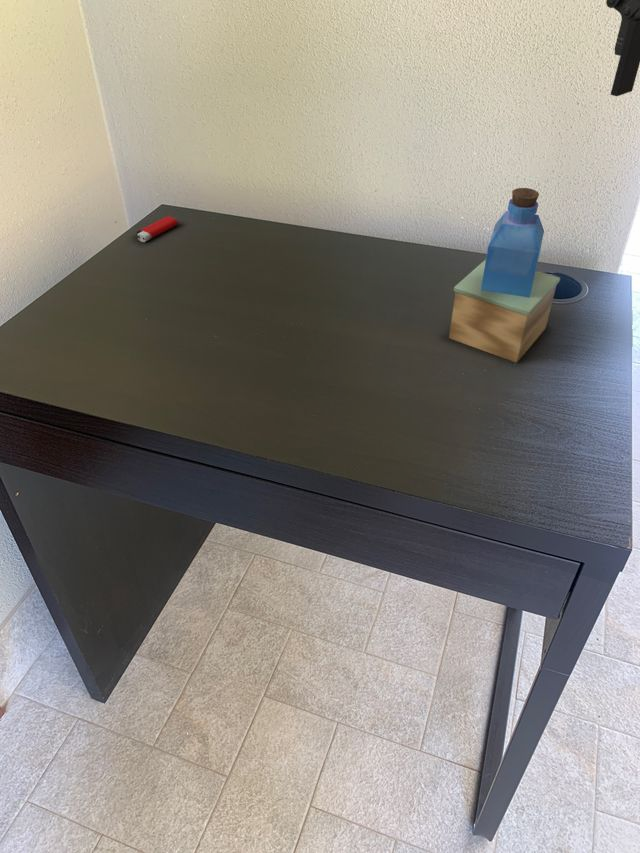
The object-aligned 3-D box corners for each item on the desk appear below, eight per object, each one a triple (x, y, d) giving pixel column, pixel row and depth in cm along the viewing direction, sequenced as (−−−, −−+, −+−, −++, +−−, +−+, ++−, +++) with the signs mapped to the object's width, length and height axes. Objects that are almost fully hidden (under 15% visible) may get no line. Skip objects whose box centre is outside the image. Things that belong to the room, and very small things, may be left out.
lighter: (177, 219, 120) (144, 236, 116) (178, 226, 121) (145, 243, 116) (165, 215, 122) (132, 232, 117) (166, 222, 122) (134, 239, 118)
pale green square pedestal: (547, 328, 96) (560, 277, 91) (517, 364, 90) (529, 311, 84) (479, 306, 101) (488, 256, 95) (446, 338, 94) (453, 287, 89)
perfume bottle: (529, 297, 87) (550, 206, 79) (480, 289, 88) (495, 200, 80) (534, 274, 91) (554, 186, 83) (487, 267, 93) (502, 180, 85)
